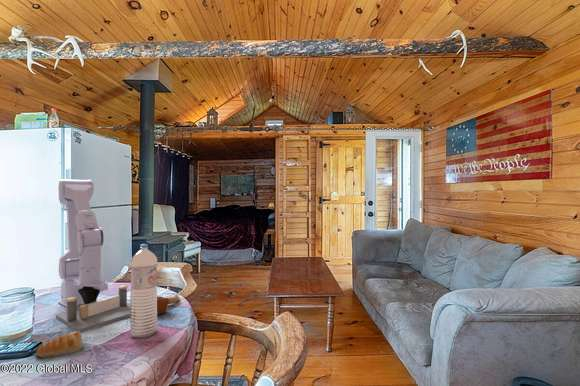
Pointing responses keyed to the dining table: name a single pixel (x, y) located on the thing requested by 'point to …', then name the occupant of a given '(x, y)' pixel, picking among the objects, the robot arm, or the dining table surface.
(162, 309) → the smoking pipe
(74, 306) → the gate frame
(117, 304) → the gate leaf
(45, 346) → the pastry
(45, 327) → the dining table surface
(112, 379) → the dining table surface
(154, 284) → the water bottle
